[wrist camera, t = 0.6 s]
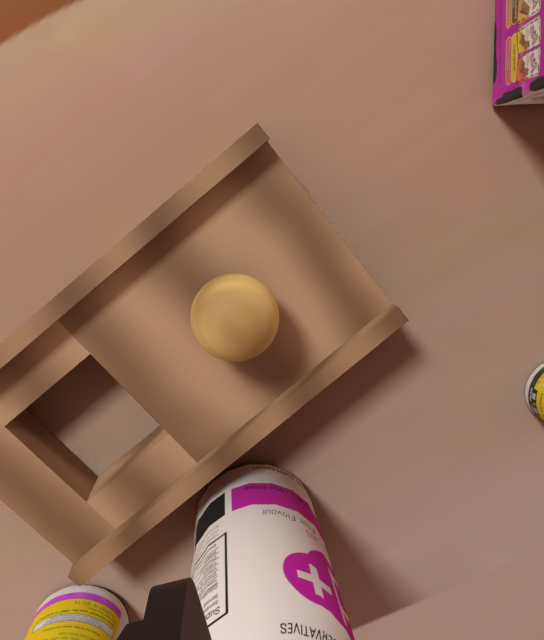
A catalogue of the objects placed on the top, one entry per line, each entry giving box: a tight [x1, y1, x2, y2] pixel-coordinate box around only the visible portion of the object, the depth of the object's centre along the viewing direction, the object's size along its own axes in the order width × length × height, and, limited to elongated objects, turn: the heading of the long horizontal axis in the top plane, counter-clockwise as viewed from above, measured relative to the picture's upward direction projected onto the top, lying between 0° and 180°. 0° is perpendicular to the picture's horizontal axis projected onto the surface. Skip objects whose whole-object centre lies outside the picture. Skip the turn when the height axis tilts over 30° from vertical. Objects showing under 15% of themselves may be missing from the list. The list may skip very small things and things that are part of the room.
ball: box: [191, 273, 279, 362], centre depth 27 cm, size 5×5×5 cm
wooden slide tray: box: [0, 123, 409, 587], centre depth 30 cm, size 26×14×4 cm, turn 130°
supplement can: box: [191, 465, 355, 640], centre depth 28 cm, size 8×8×15 cm
